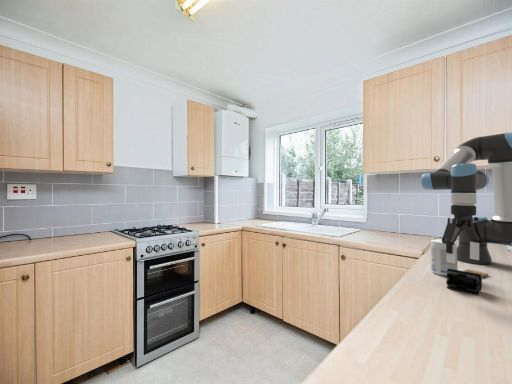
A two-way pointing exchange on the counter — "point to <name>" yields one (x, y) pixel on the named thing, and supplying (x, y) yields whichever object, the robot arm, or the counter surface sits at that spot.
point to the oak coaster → (477, 272)
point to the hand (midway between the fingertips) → (462, 260)
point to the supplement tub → (440, 258)
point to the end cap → (464, 281)
